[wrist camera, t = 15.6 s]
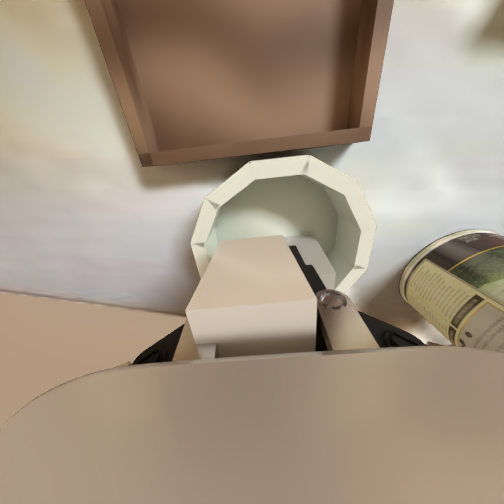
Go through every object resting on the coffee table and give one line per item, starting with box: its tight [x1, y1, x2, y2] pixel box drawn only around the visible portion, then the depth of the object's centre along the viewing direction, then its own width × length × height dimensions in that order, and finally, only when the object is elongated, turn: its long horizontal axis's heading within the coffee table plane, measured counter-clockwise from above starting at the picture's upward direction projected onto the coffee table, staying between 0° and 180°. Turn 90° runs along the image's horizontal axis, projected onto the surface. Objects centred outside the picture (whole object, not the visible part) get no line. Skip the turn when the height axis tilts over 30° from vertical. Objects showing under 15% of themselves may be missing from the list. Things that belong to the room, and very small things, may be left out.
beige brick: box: [185, 235, 317, 358], centre depth 8 cm, size 4×4×6 cm
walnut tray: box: [85, 0, 394, 167], centre depth 10 cm, size 13×16×2 cm
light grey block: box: [284, 235, 336, 290], centre depth 15 cm, size 4×4×6 cm
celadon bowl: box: [191, 155, 377, 294], centre depth 15 cm, size 13×13×4 cm
